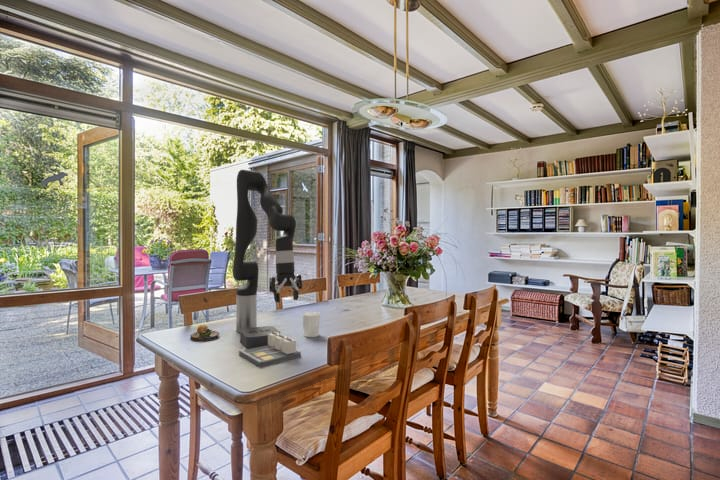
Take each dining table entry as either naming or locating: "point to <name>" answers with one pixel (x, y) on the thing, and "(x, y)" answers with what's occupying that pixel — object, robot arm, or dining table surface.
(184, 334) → the dining table surface
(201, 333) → the wood slice table decoration
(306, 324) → the white cup
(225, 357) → the dining table surface
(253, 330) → the streaming box
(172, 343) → the dining table surface
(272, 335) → the tab
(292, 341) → the cream striped block
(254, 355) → the switch board
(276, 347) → the tab
